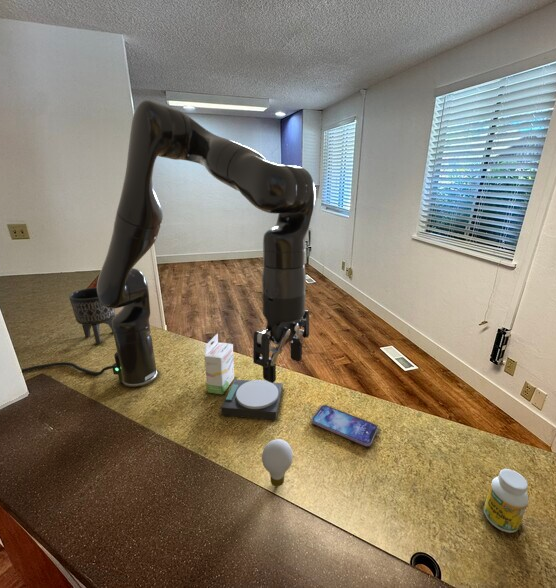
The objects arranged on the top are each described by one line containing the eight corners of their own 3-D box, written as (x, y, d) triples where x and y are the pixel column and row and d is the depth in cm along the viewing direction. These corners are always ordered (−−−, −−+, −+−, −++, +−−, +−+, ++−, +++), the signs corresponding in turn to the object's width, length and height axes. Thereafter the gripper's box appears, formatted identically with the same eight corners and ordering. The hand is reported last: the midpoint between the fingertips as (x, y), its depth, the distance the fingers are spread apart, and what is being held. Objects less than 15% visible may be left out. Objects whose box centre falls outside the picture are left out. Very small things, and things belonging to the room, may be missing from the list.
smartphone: (322, 403, 81) (378, 425, 74) (322, 406, 81) (378, 428, 74) (310, 420, 75) (369, 445, 68) (310, 423, 75) (369, 448, 68)
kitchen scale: (221, 415, 77) (220, 404, 76) (234, 386, 89) (234, 376, 88) (275, 420, 76) (275, 409, 75) (282, 390, 87) (282, 380, 86)
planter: (110, 326, 122) (102, 285, 116) (126, 336, 115) (118, 292, 109) (73, 338, 113) (62, 293, 107) (89, 349, 106) (78, 302, 100)
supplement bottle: (523, 522, 54) (538, 482, 51) (510, 540, 51) (526, 500, 48) (490, 498, 58) (503, 460, 55) (477, 514, 55) (490, 475, 52)
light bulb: (296, 475, 62) (297, 437, 58) (285, 502, 57) (286, 461, 53) (269, 466, 64) (269, 428, 60) (257, 491, 58) (256, 451, 55)
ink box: (223, 395, 84) (220, 348, 80) (206, 392, 85) (202, 346, 80) (235, 377, 93) (233, 334, 88) (220, 375, 93) (217, 332, 88)
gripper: (289, 276, 60) (288, 348, 66) (239, 296, 49) (243, 381, 54) (322, 283, 56) (319, 359, 62) (276, 306, 45) (276, 397, 51)
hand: (283, 369), depth 58 cm, fingers open, 8 cm apart
